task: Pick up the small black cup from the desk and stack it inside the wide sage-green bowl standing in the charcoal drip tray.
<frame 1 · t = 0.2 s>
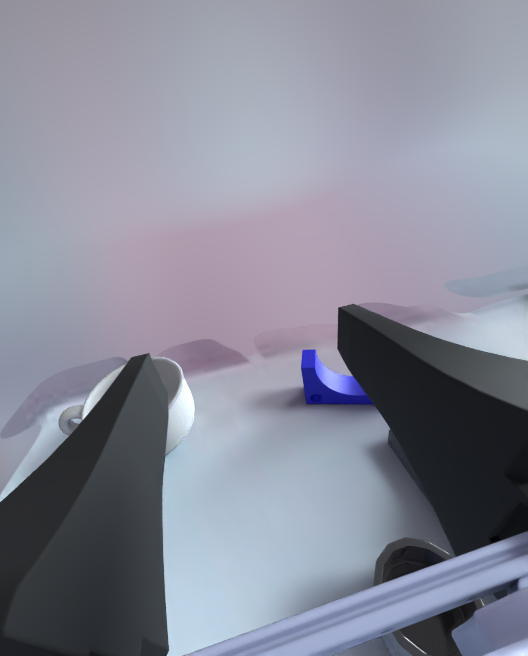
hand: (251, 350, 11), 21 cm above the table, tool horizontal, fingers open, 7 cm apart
teacup: (149, 437, 35), on the table
black cup: (416, 617, 19), on the table
blue curved stand: (356, 390, 35), on the table
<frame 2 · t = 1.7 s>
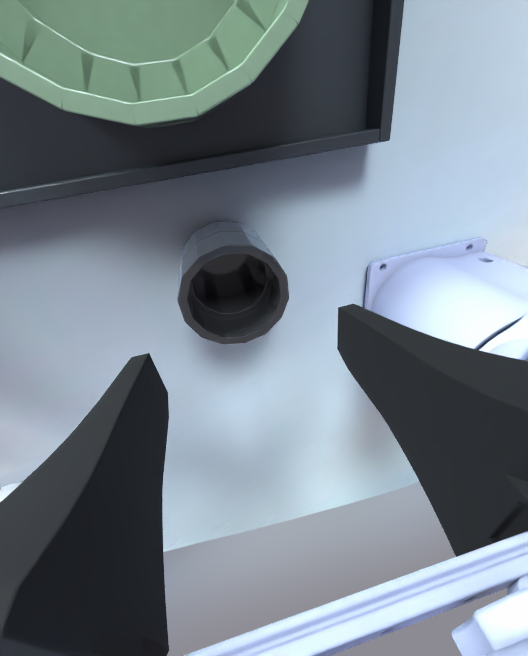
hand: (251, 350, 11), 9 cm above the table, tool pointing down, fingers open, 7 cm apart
black cup: (224, 263, 18), on the table
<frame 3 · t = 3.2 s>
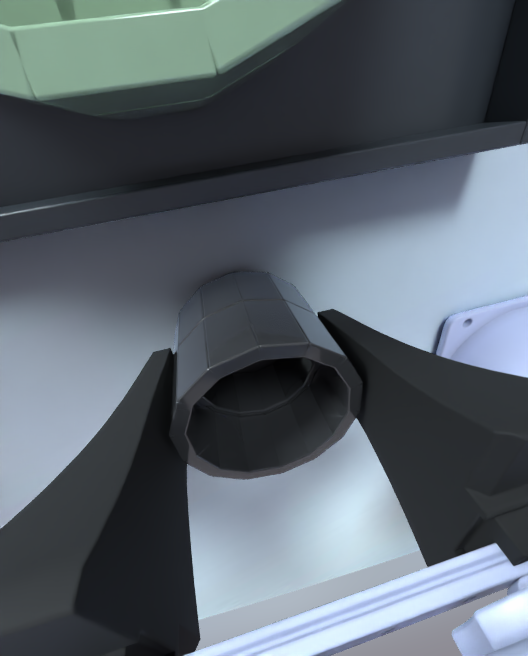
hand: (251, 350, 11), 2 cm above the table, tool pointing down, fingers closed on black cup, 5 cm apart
black cup: (243, 327, 12), on the table, touching gripper
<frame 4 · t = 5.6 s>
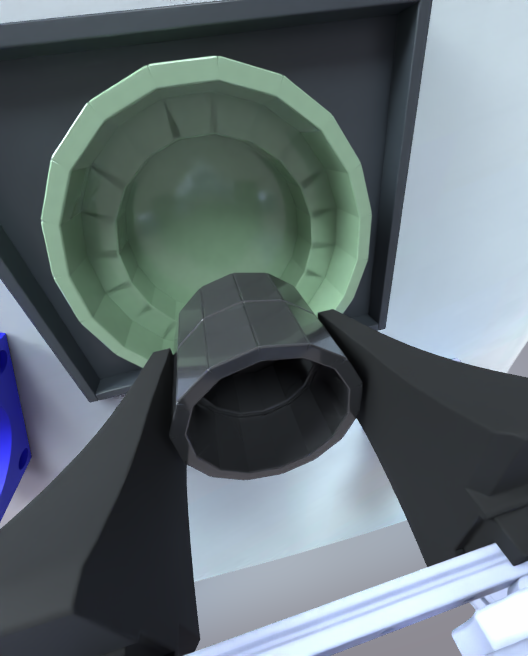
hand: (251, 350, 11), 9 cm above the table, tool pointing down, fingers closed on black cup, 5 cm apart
black cup: (243, 328, 12), point 7 cm above the table, touching gripper
sage bowl: (221, 247, 14), in the drip tray
drip tray: (216, 233, 17), on the table
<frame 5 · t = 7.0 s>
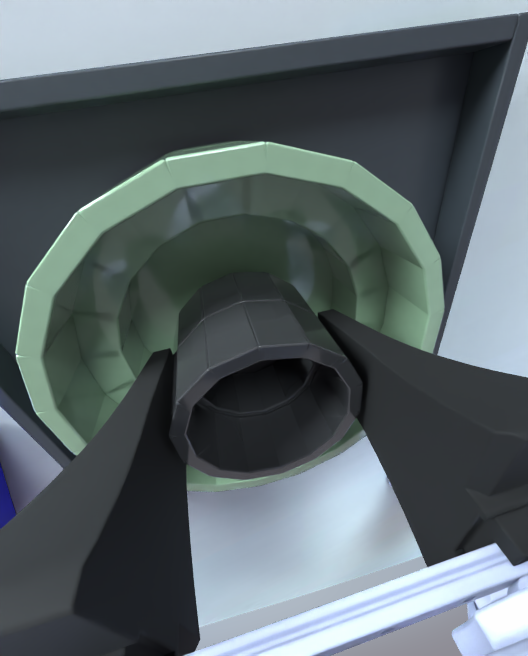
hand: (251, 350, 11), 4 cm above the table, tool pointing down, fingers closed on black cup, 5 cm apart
black cup: (243, 328, 12), point 2 cm above the table, touching gripper
sage bowl: (246, 334, 12), in the drip tray
drip tray: (236, 303, 14), on the table
when the fingers open (2 cm above the table, at t = 8.1 s): black cup stays where it is, resting on sage bowl.
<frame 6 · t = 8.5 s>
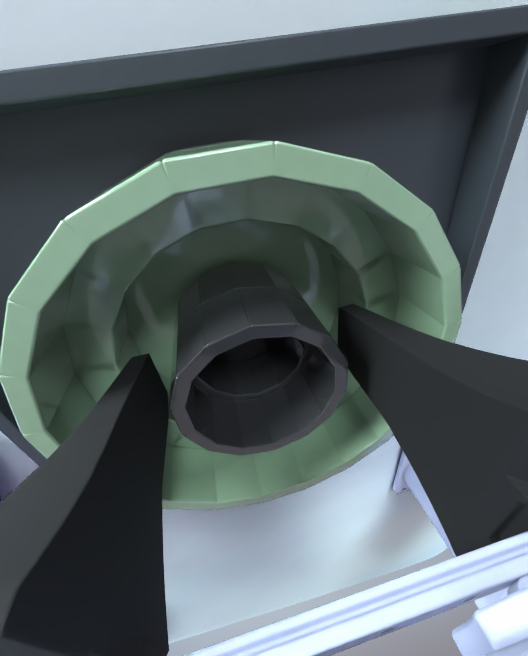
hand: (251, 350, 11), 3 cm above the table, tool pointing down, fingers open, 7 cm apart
black cup: (239, 317, 13), point 1 cm above the table, touching sage bowl
sage bowl: (249, 345, 11), in the drip tray
drip tray: (238, 310, 13), on the table
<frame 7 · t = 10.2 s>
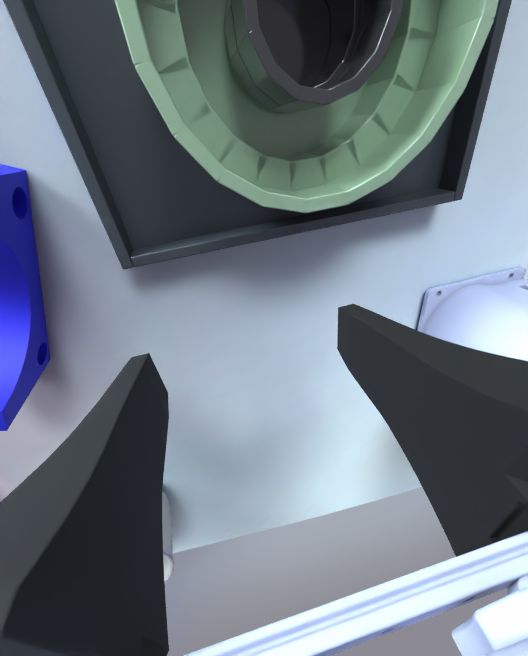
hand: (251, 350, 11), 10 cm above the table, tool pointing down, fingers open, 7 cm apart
teacup: (125, 498, 31), on the table
black cup: (283, 38, 13), point 1 cm above the table, touching sage bowl
sage bowl: (300, 23, 11), in the drip tray
drip tray: (281, 42, 14), on the table
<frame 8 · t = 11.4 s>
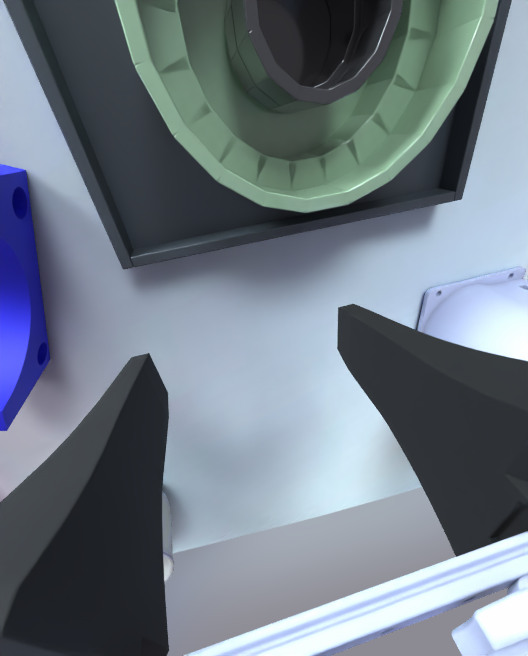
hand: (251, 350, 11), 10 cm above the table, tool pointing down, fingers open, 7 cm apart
teacup: (125, 498, 31), on the table
black cup: (283, 38, 13), point 1 cm above the table, touching sage bowl
sage bowl: (300, 23, 11), in the drip tray
drip tray: (281, 42, 14), on the table
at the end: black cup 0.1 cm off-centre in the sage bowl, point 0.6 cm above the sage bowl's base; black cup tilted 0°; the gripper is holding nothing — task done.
